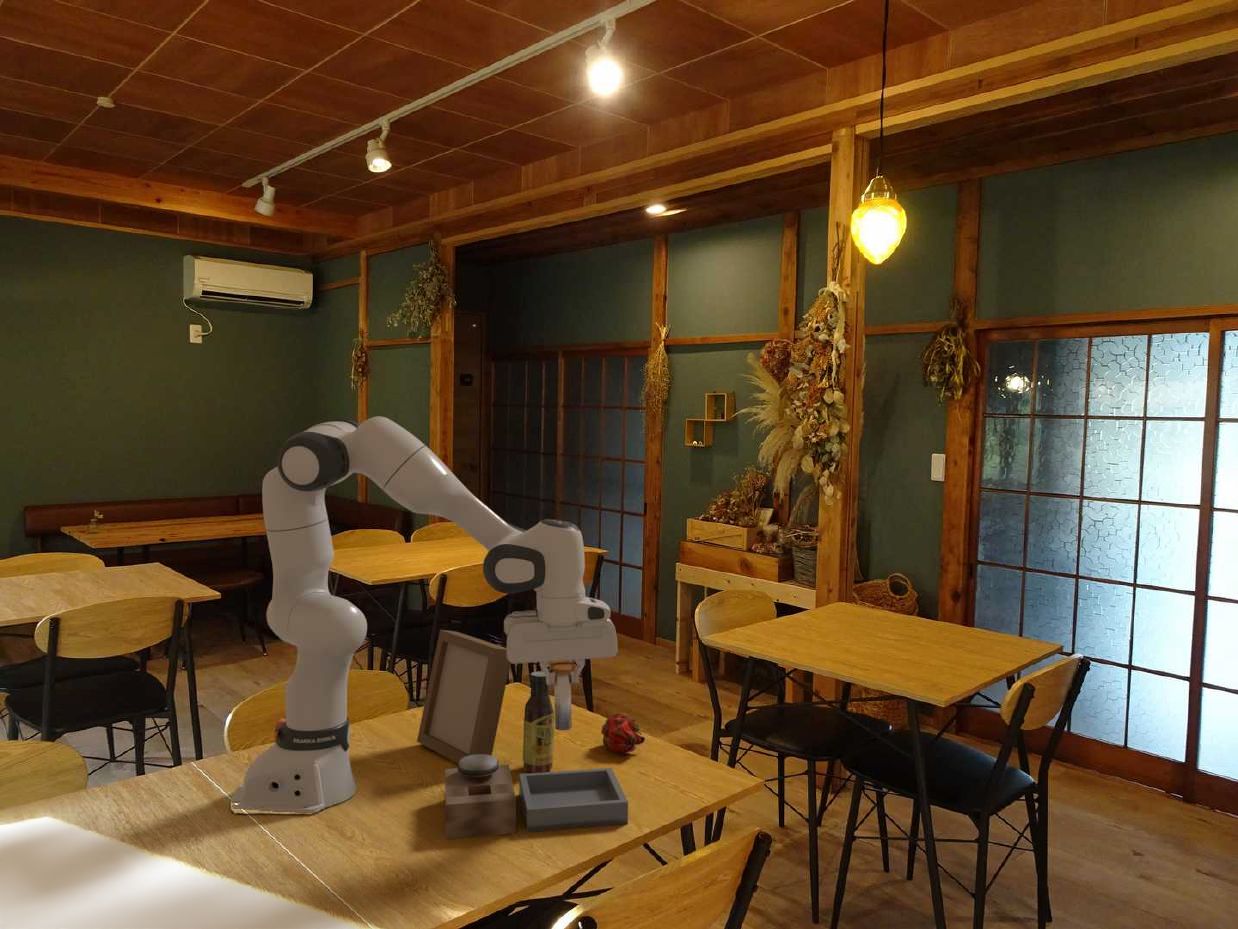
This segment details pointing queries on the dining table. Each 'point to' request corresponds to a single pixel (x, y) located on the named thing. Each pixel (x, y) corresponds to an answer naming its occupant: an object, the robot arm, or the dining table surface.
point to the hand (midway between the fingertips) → (562, 683)
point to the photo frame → (464, 696)
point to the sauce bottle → (538, 727)
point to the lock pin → (562, 693)
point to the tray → (572, 799)
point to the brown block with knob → (479, 798)
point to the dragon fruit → (621, 733)
